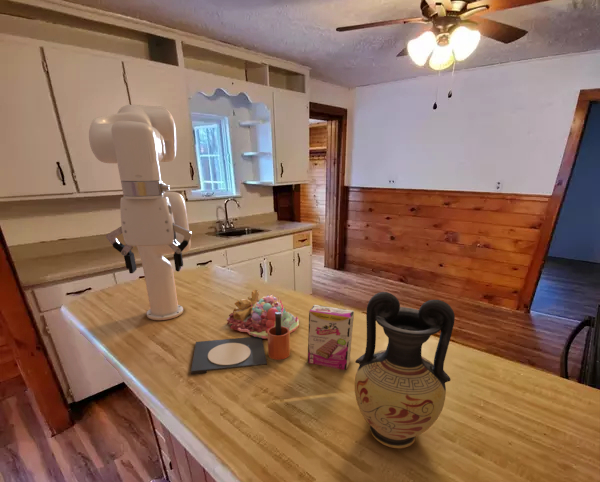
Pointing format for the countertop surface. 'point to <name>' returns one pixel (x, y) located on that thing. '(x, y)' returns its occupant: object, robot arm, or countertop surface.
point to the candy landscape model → (260, 315)
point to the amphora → (403, 369)
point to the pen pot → (278, 343)
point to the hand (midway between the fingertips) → (156, 270)
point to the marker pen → (278, 323)
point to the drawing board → (228, 354)
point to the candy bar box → (330, 336)
